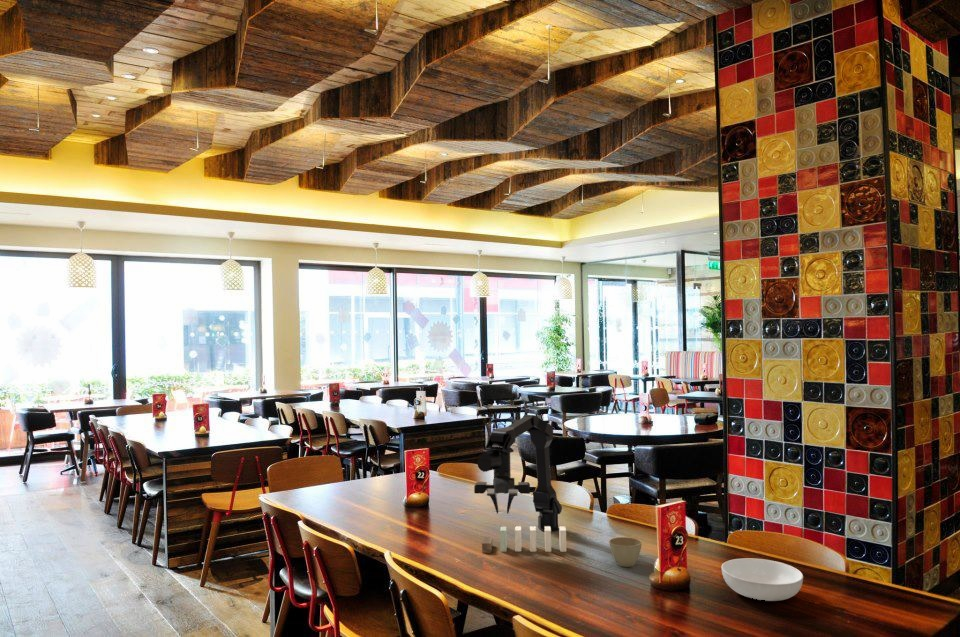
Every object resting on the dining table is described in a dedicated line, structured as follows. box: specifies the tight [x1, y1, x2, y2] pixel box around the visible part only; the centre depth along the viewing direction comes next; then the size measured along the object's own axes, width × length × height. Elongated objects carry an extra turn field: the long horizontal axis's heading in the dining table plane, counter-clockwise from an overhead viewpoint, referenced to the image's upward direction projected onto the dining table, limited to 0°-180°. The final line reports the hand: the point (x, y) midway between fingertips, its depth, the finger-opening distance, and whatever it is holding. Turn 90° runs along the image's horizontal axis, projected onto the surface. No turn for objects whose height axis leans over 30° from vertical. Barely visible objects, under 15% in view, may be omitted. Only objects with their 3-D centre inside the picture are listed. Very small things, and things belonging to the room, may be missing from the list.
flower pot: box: [608, 536, 643, 568], centre depth 221 cm, size 10×10×7 cm
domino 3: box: [544, 526, 552, 553], centre depth 238 cm, size 2×5×7 cm, turn 176°
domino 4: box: [558, 525, 567, 553], centre depth 238 cm, size 2×5×7 cm, turn 176°
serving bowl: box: [720, 557, 804, 602], centre depth 194 cm, size 21×21×7 cm
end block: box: [481, 536, 493, 553], centre depth 239 cm, size 3×8×3 cm, turn 176°
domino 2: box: [529, 525, 537, 552], centre depth 238 cm, size 2×5×7 cm, turn 176°
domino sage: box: [499, 526, 508, 553], centre depth 239 cm, size 2×5×7 cm, turn 176°
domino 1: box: [514, 525, 522, 552], centre depth 239 cm, size 2×5×7 cm, turn 176°
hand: (502, 513), depth 239 cm, fingers open, 3 cm apart
